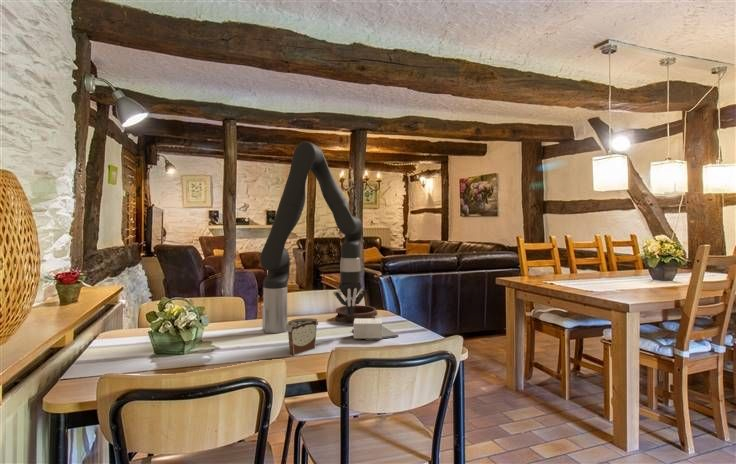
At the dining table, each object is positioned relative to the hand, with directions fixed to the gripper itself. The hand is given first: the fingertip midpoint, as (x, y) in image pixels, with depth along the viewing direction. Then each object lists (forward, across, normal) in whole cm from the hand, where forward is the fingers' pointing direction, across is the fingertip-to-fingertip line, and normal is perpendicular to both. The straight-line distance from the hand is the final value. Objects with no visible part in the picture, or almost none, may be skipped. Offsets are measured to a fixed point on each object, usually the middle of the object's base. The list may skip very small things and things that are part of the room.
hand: (350, 315), depth 158 cm
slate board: (+8, -10, 0) cm, 13 cm away
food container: (+8, +22, +8) cm, 25 cm away
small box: (+4, -1, +1) cm, 5 cm away
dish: (+8, -12, -24) cm, 28 cm away
